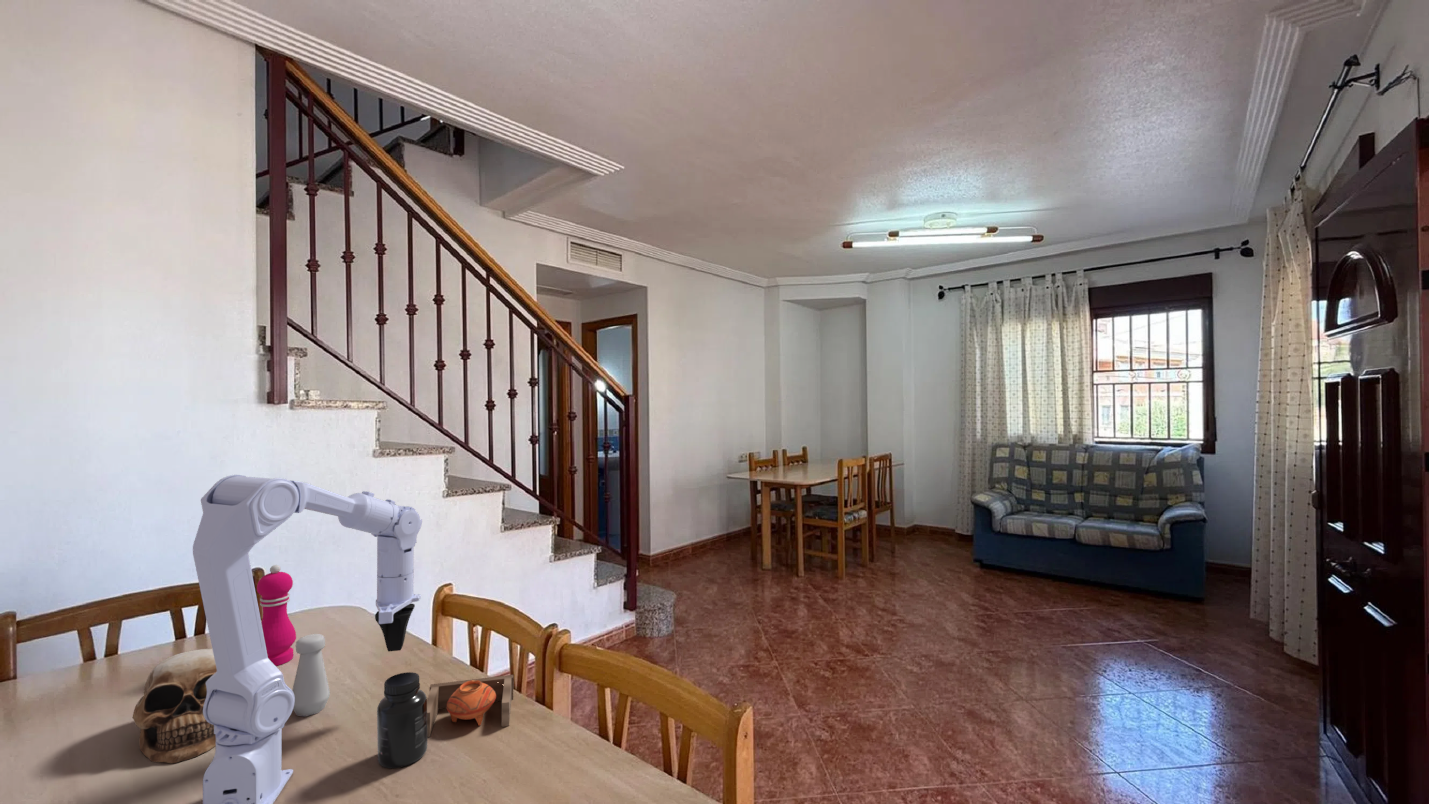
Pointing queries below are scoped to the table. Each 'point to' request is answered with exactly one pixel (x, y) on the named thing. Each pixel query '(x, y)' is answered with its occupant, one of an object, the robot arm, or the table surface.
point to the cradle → (445, 690)
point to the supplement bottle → (402, 721)
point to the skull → (176, 708)
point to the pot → (471, 701)
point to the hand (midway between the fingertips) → (395, 649)
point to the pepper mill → (276, 615)
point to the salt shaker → (310, 676)
